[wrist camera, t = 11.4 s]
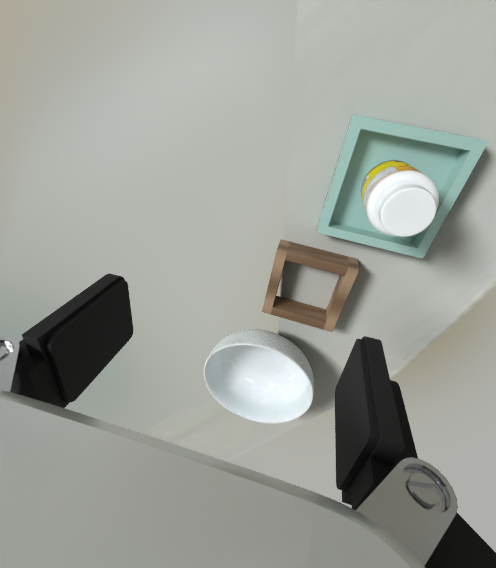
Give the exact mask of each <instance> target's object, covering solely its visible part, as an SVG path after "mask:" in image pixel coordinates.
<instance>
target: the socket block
mask: <svg viewBox="0 0 496 568" xmlns="http://www.w3.org/2000/svg"><path fill="white" fill-rule="evenodd" d="M285 260H286V261H290V262H294V263H298V264H302V265H305V266H309V267H313V268H317V269H321V270H324V271H328V272H332V273H336V274H340V277H339V279H338V282H337V284H336V287H335V289H334V292H333V294H332V297H331V300H330V302H329V305H328V307H327V310H325V309H321V308H318V307H314V306H311V305H307V304H304V303H300V302H296V301H293V300H289V299H286V298H282V297H278V296H276V294H277V289H278V286H279V282H280V279H281V275H282V271H283V267H284V264H285ZM358 272H359V265H358V260H357V259H355V258H351V257H347V256H344V255H340V254H336V253H332V252H328V251H324V250H320V249H316V248H312V247H308V246H304V245H300V244H296V243H292V242H289V241H285V240H281V241H280V243H279V246H278V248H277V252H276V256H275V260H274V265H273V269H272V273H271V277H270V282H269V285H268V289H267V293H266V297H265V302H264V306H263V310H262V312H264V313H268V314H272V315H275V316H278V317H282V318H285V319H289V320H292V321H296V322H299V323H303V324H306V325H310V326H313V327H317V328H320V329H323V330H327V331H330V332H332V331H333V329H334V327H335V325H336V322H337V320H338V318H339V315H340V313H341V311H342V308H343V306H344V304H345V302H346V299H347V297H348V295H349V292H350V290H351V288H352V285H353V283H354V281H355V279H356V276H357V274H358Z"/></svg>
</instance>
